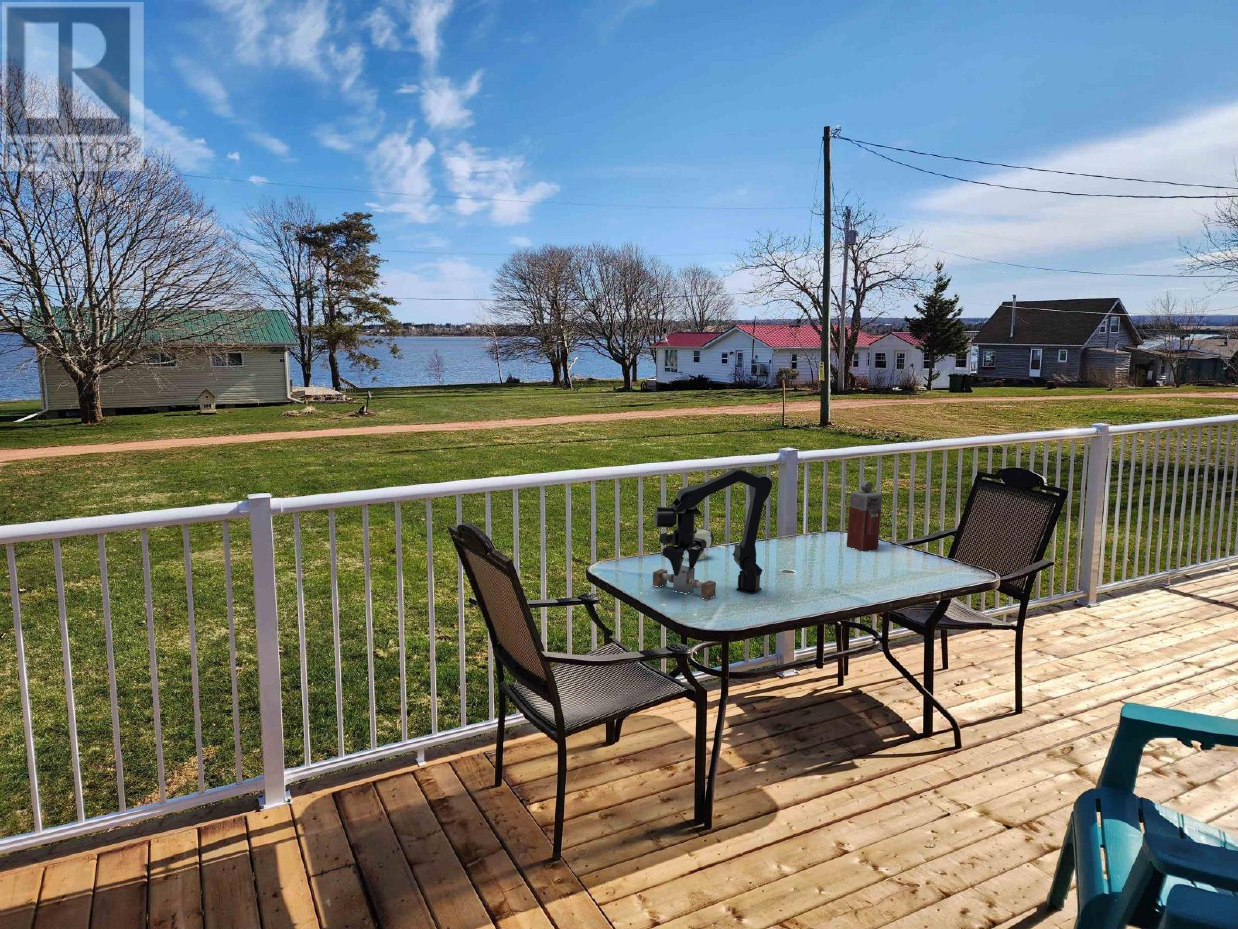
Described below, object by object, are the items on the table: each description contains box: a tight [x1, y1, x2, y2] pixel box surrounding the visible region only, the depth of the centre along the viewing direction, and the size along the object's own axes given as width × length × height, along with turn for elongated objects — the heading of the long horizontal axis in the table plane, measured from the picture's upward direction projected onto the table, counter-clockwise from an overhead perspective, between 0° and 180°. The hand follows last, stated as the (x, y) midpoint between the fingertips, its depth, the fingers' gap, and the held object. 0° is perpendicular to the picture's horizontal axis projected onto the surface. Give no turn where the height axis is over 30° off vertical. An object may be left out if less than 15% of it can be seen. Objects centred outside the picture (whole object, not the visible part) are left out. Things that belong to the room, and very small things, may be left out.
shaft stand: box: [652, 568, 717, 600], centre depth 256 cm, size 22×5×5 cm, turn 53°
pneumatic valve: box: [694, 528, 715, 561], centre depth 294 cm, size 6×12×12 cm, turn 122°
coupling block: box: [672, 564, 695, 593], centre depth 256 cm, size 6×5×8 cm
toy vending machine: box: [846, 480, 883, 552], centre depth 314 cm, size 9×11×28 cm
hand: (683, 572), depth 256 cm, fingers open, 9 cm apart
